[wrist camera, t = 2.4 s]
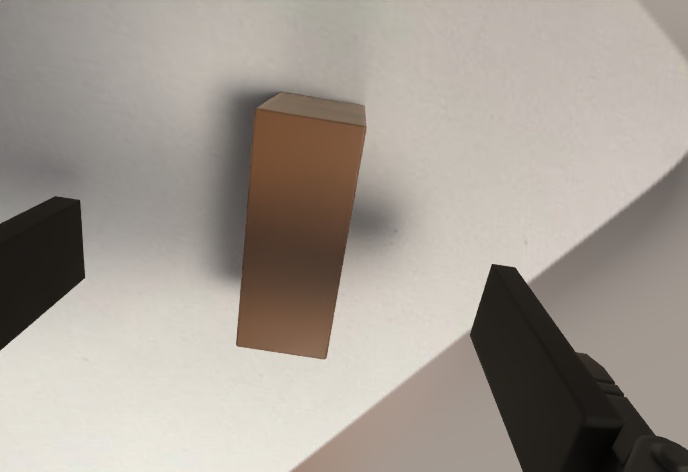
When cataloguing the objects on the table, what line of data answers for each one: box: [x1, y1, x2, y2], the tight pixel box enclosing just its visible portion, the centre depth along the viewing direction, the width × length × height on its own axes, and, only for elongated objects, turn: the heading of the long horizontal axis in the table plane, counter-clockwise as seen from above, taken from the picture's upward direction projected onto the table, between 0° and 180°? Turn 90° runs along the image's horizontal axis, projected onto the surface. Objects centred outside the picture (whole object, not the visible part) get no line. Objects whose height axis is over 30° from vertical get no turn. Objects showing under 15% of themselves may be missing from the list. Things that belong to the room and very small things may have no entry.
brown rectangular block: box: [236, 92, 366, 359], centre depth 18 cm, size 9×4×5 cm, turn 171°
